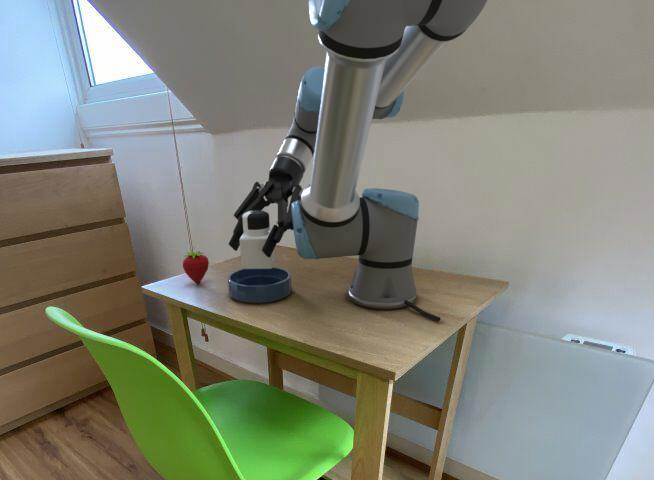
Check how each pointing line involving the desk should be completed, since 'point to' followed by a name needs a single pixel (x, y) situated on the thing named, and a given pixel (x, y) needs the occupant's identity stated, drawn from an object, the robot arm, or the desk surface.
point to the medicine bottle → (255, 241)
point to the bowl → (259, 284)
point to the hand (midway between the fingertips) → (248, 250)
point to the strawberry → (195, 266)
